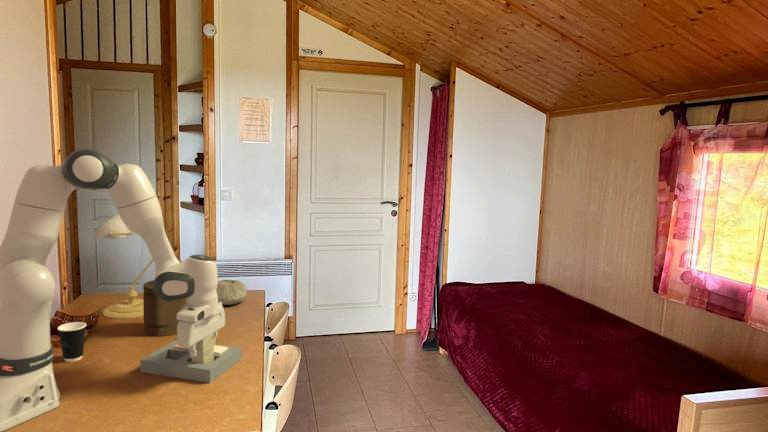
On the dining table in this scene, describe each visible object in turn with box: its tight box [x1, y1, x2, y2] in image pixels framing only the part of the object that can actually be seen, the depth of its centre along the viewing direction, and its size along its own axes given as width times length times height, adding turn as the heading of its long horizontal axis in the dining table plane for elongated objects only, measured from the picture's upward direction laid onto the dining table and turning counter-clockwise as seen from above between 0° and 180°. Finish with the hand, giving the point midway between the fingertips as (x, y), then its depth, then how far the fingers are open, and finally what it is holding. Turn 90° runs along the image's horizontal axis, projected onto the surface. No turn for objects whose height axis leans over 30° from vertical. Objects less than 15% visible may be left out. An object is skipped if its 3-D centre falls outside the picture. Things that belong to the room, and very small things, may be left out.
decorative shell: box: [216, 279, 248, 306], centre depth 222 cm, size 18×18×10 cm
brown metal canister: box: [142, 279, 187, 337], centre depth 186 cm, size 15×15×22 cm
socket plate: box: [139, 339, 242, 384], centre depth 156 cm, size 18×24×4 cm
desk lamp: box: [92, 214, 154, 320], centre depth 206 cm, size 31×23×40 cm
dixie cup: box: [56, 321, 87, 363], centre depth 158 cm, size 8×8×11 cm
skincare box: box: [191, 333, 214, 365], centre depth 152 cm, size 6×4×12 cm
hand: (203, 350), depth 152 cm, fingers open, 8 cm apart
